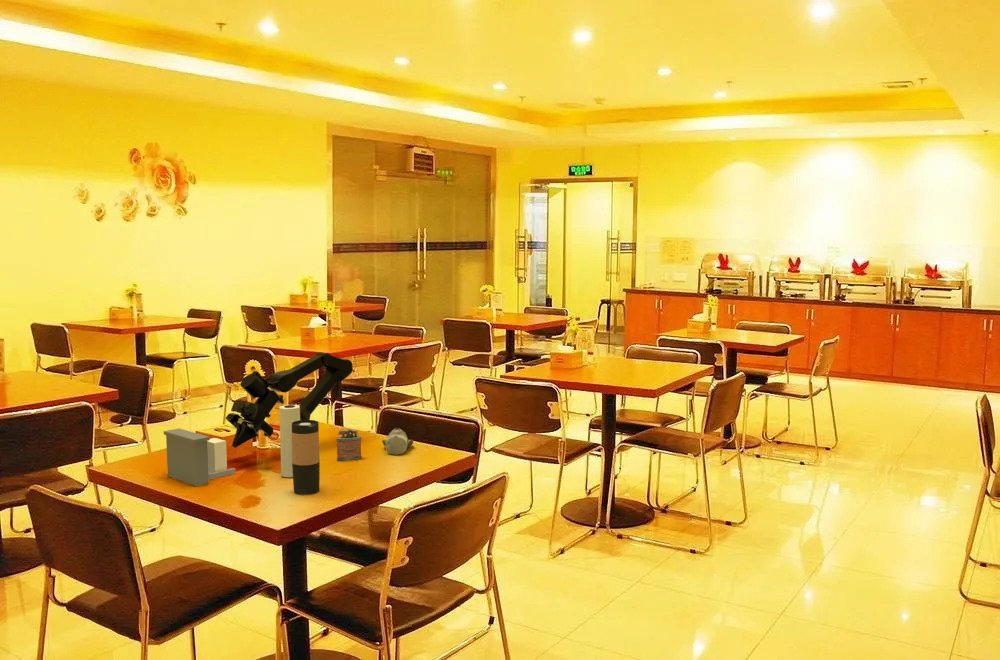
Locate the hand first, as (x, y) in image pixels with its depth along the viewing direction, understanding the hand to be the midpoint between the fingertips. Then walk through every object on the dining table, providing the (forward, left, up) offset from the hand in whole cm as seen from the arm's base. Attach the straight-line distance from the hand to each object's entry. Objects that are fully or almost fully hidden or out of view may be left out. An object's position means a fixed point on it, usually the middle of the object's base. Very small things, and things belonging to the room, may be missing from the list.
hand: (233, 446), depth 269 cm
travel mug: (-28, +23, -7) cm, 37 cm away
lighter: (-34, -12, -7) cm, 37 cm away
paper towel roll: (-20, +6, -7) cm, 22 cm away
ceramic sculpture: (-48, -23, -7) cm, 54 cm away
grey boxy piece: (+7, +8, -7) cm, 12 cm away
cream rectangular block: (+4, +5, -7) cm, 10 cm away
